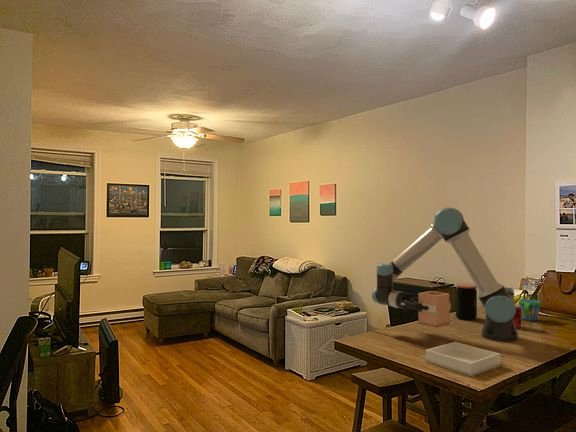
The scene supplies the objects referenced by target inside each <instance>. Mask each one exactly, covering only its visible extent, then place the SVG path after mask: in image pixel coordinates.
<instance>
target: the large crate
mask: <svg viewBox="0 0 576 432" xmlns="http://www.w3.org/2000/svg"><path fill="white" fill-rule="evenodd" d="M425 362H426V363H428V364H432V365H435V366H437V367H441V368H444V369H447V370H449V371H450V370H451V371H452V372H456V373H459V374H463V375H465V376H468V377H474V376H477V375H479V374H482V373H485V372H488V371H489V370H490V371H491V370H493V369H496V368H498V367H501V353H498V352H496V351H491V350H487V349H483V348H480V347H476V346H473V345H469V344H466V343H463V342H457V341H453V342H449V343H446V344H442V345H438V346H435V347H431V348H427V349H425Z"/></svg>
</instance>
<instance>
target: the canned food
mask: <svg viewBox="0 0 576 432" xmlns="http://www.w3.org/2000/svg"><path fill="white" fill-rule="evenodd" d="M514 304H515V306H516V312H515V315H514V324H515V327H516V330H517V329H521V328H522V317H521V305H519V303H518V304H516V303H514Z"/></svg>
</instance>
